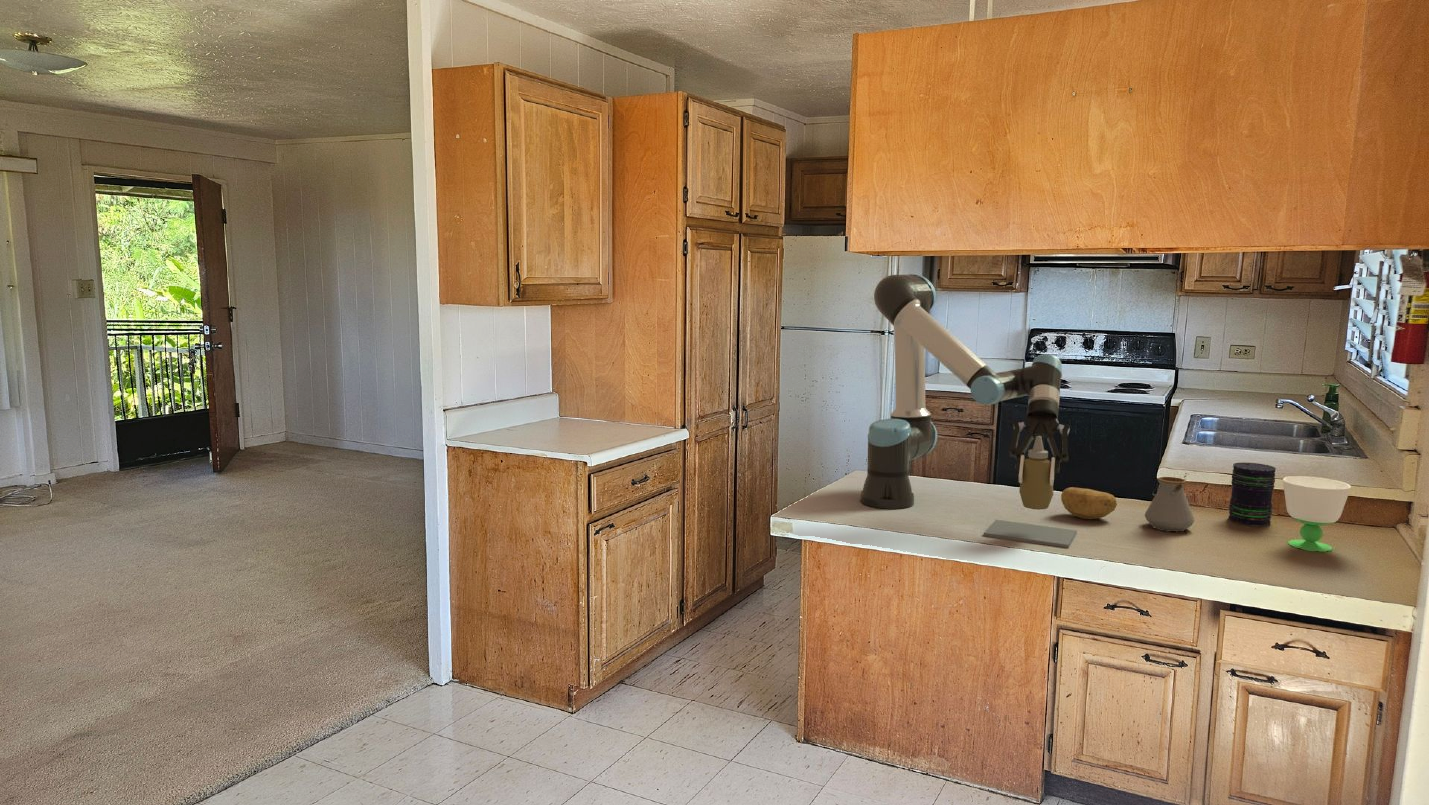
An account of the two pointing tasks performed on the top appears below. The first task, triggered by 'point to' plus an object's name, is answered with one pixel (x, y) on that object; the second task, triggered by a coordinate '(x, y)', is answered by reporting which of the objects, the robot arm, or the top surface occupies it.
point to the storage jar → (1252, 494)
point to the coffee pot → (1170, 506)
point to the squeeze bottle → (1036, 478)
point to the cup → (1314, 507)
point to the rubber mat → (1031, 533)
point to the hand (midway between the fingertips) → (1035, 481)
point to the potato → (1088, 502)
